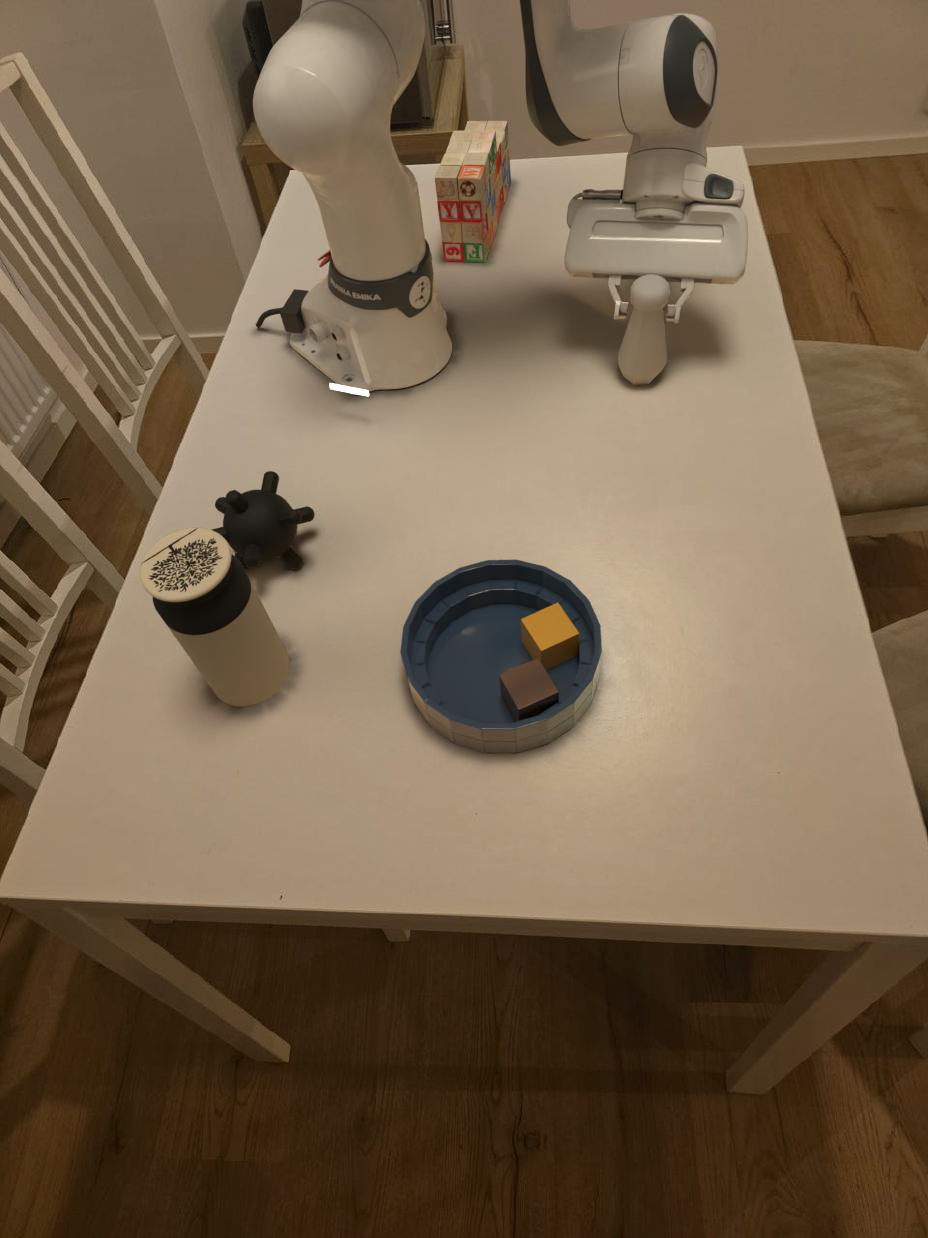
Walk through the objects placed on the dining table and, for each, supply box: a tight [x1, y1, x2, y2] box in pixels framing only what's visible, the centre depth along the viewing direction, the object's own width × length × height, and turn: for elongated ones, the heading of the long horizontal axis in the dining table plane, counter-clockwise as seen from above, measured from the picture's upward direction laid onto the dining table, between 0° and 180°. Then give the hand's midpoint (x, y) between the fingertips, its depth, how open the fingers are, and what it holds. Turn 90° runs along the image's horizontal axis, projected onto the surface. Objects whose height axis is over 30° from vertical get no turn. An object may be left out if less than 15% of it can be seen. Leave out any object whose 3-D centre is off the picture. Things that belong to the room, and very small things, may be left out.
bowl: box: [400, 559, 603, 754], centre depth 76 cm, size 18×18×6 cm
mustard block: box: [521, 603, 579, 670], centre depth 77 cm, size 4×4×4 cm
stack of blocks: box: [434, 120, 512, 263], centre depth 117 cm, size 21×6×12 cm, turn 168°
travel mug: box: [139, 527, 291, 708], centre depth 73 cm, size 8×8×18 cm
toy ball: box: [210, 470, 315, 570], centre depth 85 cm, size 11×11×12 cm
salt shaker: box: [617, 274, 671, 386], centre depth 94 cm, size 6×6×13 cm
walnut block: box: [499, 658, 559, 722], centre depth 74 cm, size 4×4×4 cm
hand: (645, 320), depth 93 cm, fingers open, 4 cm apart
